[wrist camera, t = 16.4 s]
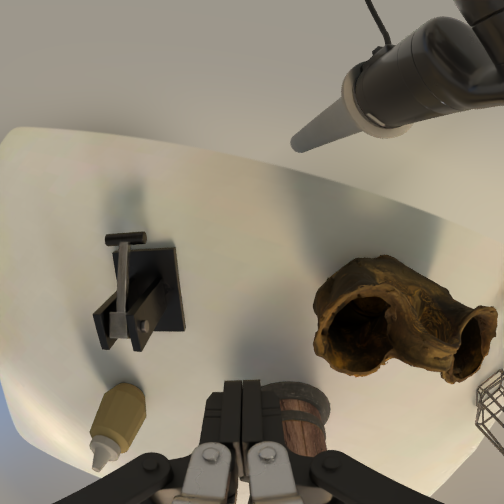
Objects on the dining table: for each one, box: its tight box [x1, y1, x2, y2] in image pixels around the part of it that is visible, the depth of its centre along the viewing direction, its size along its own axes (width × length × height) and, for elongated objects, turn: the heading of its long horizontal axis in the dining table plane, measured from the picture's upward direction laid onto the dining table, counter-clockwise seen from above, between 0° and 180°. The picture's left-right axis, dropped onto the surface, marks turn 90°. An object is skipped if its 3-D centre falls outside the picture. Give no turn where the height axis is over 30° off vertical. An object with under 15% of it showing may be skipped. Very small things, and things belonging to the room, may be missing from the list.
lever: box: [105, 232, 147, 339], centre depth 32 cm, size 12×5×2 cm, turn 2°
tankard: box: [239, 382, 330, 504], centre depth 39 cm, size 24×17×20 cm
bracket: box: [93, 247, 186, 352], centre depth 36 cm, size 12×9×13 cm
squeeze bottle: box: [89, 383, 146, 472], centre depth 38 cm, size 8×8×18 cm
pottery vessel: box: [313, 255, 498, 384], centre depth 32 cm, size 25×11×20 cm, turn 75°
